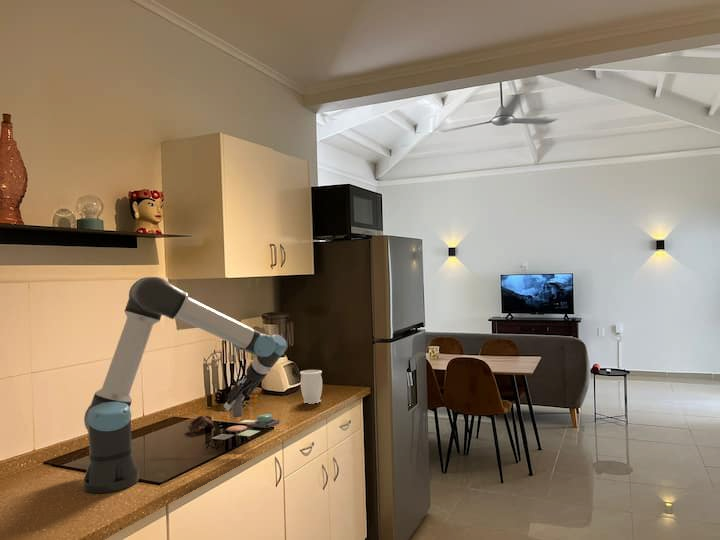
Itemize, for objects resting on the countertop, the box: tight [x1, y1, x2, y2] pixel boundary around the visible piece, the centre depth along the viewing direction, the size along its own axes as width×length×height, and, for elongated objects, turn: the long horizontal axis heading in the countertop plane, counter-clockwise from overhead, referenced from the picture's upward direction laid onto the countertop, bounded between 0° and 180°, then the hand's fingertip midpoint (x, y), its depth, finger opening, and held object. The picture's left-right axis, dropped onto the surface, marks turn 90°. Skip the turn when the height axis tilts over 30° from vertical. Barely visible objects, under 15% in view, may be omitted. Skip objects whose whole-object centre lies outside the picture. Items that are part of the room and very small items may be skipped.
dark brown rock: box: [187, 415, 216, 434], centre depth 212 cm, size 12×10×8 cm
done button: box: [256, 413, 274, 424], centre depth 216 cm, size 6×6×2 cm
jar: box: [299, 369, 323, 405], centre depth 258 cm, size 11×10×15 cm
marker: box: [230, 384, 243, 418], centre depth 212 cm, size 4×4×12 cm
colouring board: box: [211, 418, 280, 441], centre depth 209 cm, size 29×18×3 cm, turn 156°
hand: (230, 406), depth 214 cm, fingers closed on marker, 4 cm apart
